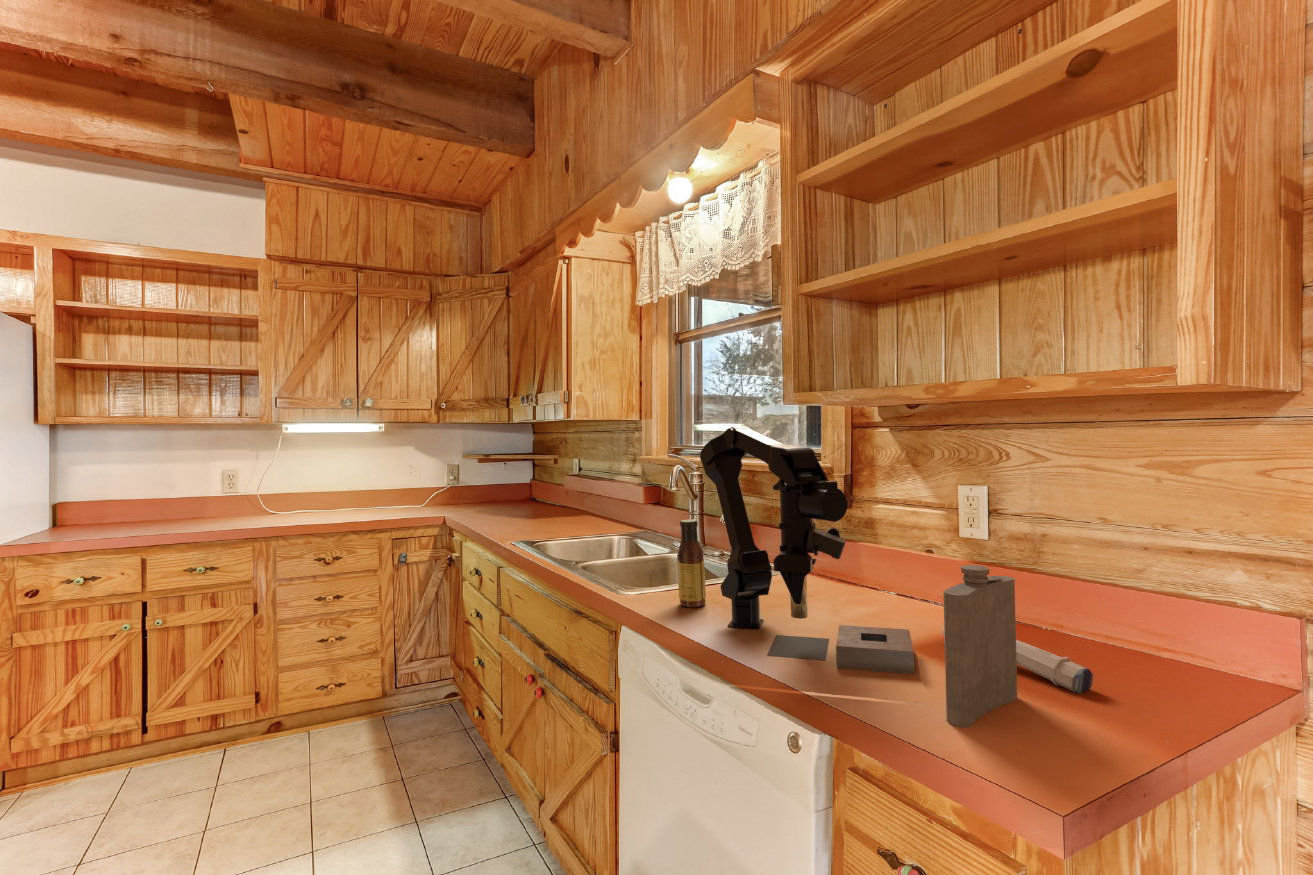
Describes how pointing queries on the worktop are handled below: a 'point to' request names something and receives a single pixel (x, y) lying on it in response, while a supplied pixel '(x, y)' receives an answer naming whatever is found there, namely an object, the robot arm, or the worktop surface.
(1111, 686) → the worktop surface
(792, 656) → the mat
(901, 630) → the block
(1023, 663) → the flashlight
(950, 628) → the hip flask
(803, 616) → the pin
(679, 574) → the sauce bottle
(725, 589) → the robot arm
